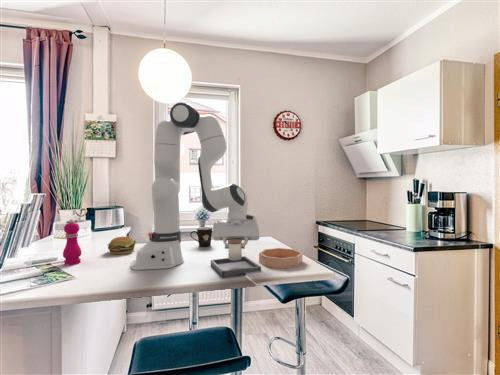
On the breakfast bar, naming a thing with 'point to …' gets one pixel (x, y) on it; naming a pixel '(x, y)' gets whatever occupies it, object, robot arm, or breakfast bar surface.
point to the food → (121, 245)
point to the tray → (234, 267)
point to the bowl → (280, 258)
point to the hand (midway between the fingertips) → (234, 248)
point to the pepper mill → (71, 244)
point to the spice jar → (235, 249)
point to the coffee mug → (204, 236)
